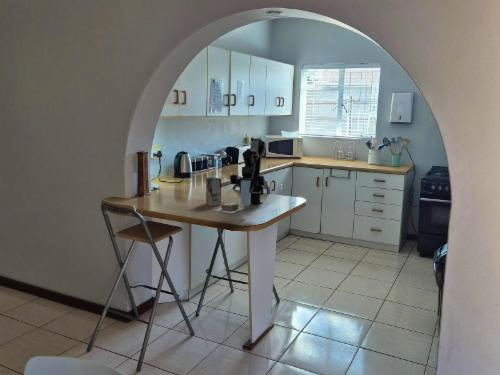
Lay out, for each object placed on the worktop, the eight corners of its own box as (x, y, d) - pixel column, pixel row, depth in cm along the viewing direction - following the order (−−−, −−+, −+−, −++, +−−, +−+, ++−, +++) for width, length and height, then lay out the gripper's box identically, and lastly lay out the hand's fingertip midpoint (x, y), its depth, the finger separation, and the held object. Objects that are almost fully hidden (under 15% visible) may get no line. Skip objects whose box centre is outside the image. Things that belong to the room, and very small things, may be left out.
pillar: (242, 203, 247) (242, 179, 245) (250, 203, 246) (250, 180, 244) (240, 204, 243) (240, 181, 240) (248, 205, 242) (249, 181, 240)
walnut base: (230, 205, 270) (230, 200, 270) (246, 208, 264) (246, 202, 263) (213, 211, 257) (213, 205, 257) (230, 214, 251) (230, 208, 250)
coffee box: (221, 205, 272) (221, 178, 269) (212, 206, 269) (212, 179, 266) (215, 202, 280) (214, 176, 277) (205, 203, 277) (205, 177, 274)
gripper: (230, 160, 246) (225, 183, 237) (264, 161, 242) (260, 185, 234) (233, 172, 255) (229, 195, 246) (266, 173, 251) (262, 196, 243)
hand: (245, 192), depth 242 cm, fingers closed on pillar, 4 cm apart
